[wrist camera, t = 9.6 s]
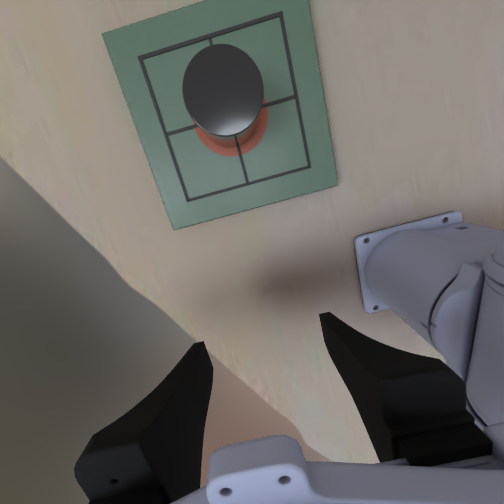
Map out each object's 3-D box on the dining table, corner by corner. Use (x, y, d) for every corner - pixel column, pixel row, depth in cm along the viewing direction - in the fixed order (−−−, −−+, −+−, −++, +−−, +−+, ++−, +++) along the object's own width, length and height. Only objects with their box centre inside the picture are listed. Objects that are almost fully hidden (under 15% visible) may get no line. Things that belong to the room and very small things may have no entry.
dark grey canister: (250, 73, 17) (252, 31, 12) (265, 138, 18) (272, 124, 14) (191, 90, 17) (169, 57, 13) (209, 154, 19) (197, 146, 14)
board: (299, -15, 17) (304, -34, 16) (332, 185, 21) (339, 185, 20) (112, 44, 18) (99, 32, 16) (178, 227, 22) (172, 230, 20)
